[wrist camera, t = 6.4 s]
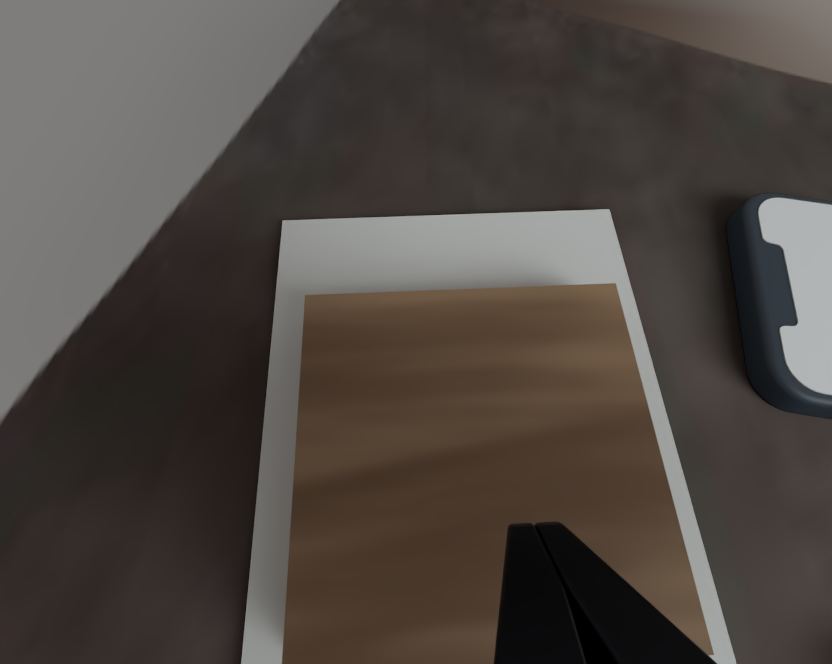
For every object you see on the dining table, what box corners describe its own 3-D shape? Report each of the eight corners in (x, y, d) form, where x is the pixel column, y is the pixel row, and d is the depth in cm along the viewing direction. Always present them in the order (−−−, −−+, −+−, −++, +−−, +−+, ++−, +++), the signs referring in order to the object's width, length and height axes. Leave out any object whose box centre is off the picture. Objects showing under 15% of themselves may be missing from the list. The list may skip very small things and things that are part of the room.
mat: (837, 1064, 10) (854, 1086, 9) (204, 1115, 9) (196, 1140, 9) (605, 215, 19) (609, 209, 18) (285, 226, 18) (282, 220, 18)
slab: (714, 655, 11) (615, 283, 15) (280, 679, 10) (305, 295, 15) (674, 640, 12) (595, 309, 16) (298, 661, 12) (315, 320, 16)
